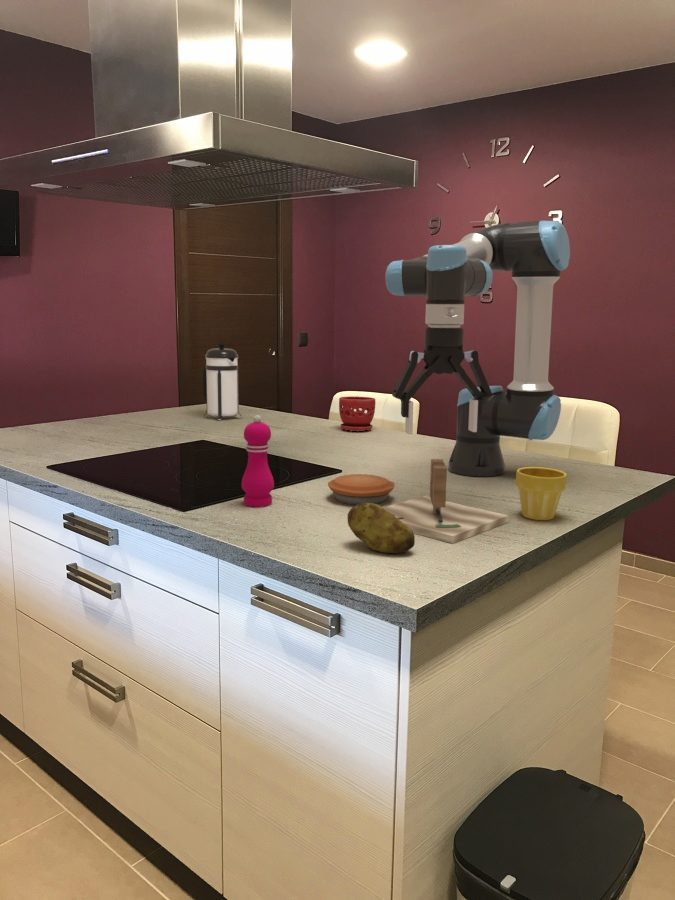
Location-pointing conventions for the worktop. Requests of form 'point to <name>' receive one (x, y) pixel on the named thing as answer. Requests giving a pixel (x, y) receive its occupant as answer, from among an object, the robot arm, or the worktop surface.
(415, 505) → the plate
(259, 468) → the pepper mill
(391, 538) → the potato
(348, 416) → the plant pot
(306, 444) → the worktop surface
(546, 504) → the plant pot
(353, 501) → the pie
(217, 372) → the coffee press
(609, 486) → the worktop surface
